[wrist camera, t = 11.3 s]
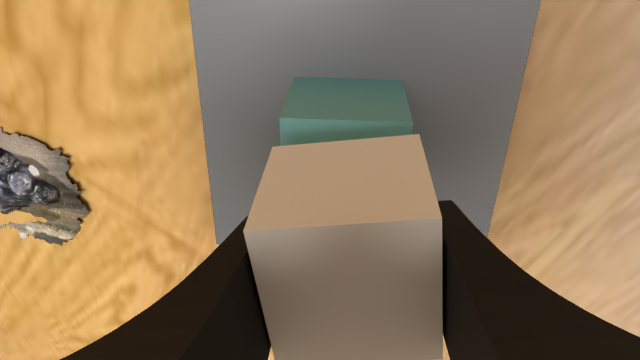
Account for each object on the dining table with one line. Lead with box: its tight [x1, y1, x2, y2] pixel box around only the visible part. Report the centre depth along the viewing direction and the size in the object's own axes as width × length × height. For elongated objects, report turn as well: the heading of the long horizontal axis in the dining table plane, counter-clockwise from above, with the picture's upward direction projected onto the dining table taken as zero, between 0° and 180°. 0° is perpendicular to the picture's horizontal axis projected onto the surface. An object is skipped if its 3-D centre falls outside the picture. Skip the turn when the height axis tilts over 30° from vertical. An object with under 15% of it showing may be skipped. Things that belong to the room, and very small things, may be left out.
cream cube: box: [243, 134, 443, 360], centre depth 12 cm, size 4×4×4 cm
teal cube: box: [280, 77, 413, 146], centre depth 17 cm, size 4×4×4 cm
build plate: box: [189, 0, 541, 244], centre depth 20 cm, size 12×12×1 cm
